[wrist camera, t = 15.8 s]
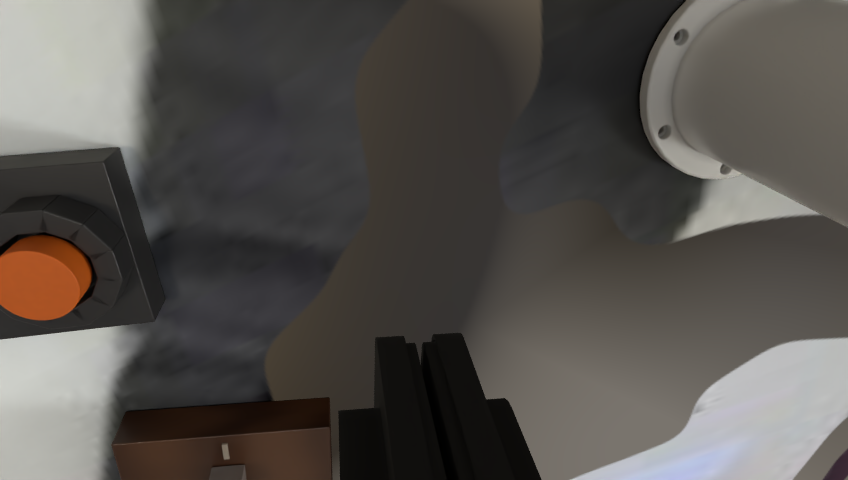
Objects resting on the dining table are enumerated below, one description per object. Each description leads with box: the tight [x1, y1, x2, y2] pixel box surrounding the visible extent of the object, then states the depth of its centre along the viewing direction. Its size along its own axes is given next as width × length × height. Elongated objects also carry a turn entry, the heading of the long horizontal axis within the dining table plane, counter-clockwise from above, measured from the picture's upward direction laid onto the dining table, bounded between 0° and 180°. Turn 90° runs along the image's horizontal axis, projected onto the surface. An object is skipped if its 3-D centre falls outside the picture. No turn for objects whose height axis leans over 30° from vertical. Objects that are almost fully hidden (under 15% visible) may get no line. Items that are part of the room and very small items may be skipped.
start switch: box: [0, 235, 92, 320], centre depth 27 cm, size 4×4×2 cm
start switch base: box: [0, 147, 165, 339], centre depth 29 cm, size 13×10×4 cm
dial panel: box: [111, 397, 332, 480], centre depth 40 cm, size 14×11×3 cm
